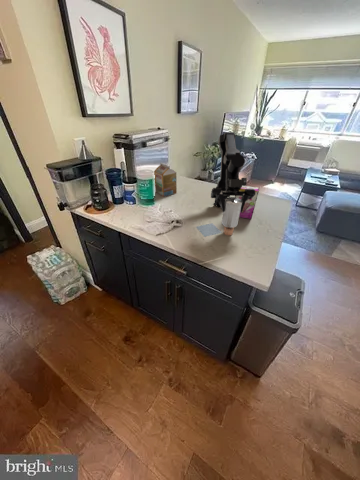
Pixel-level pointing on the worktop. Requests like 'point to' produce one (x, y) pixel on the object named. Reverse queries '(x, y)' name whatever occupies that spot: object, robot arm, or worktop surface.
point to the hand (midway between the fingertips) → (232, 211)
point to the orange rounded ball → (228, 230)
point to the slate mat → (208, 229)
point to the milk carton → (165, 180)
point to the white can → (231, 211)
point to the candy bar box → (248, 203)
